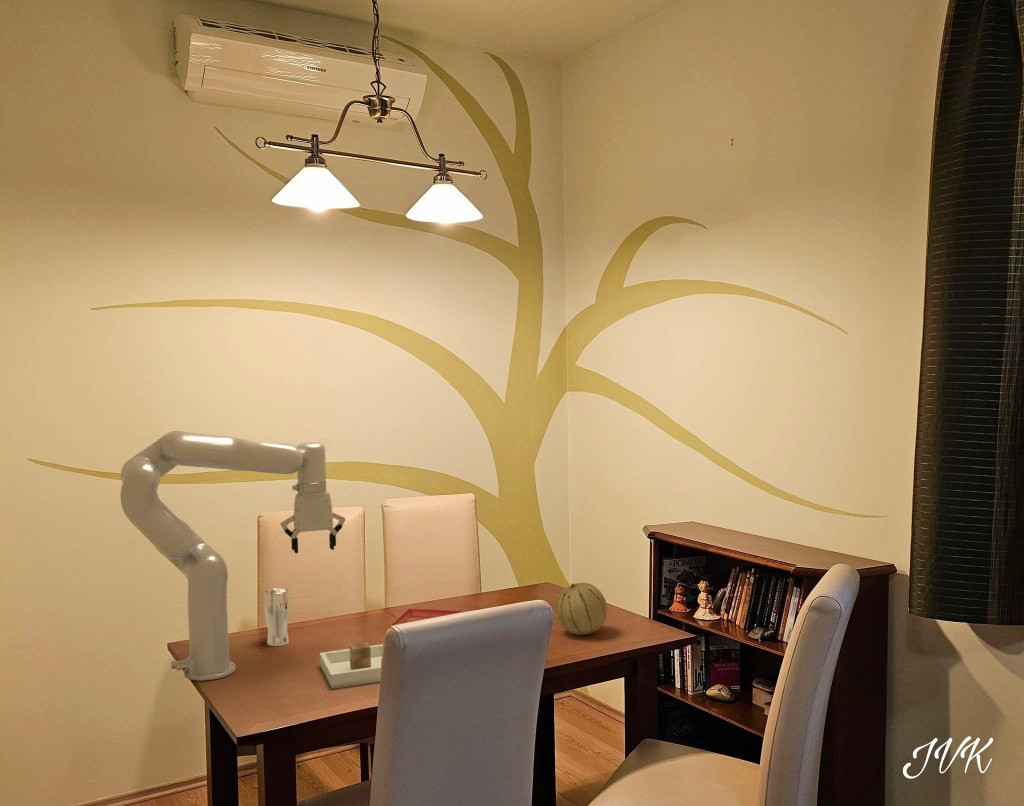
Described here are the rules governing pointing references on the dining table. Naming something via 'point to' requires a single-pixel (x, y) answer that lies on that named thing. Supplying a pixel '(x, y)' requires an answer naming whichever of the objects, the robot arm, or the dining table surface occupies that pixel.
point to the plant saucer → (421, 614)
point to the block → (360, 656)
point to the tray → (341, 673)
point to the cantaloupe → (581, 608)
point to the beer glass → (277, 615)
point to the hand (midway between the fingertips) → (314, 550)
